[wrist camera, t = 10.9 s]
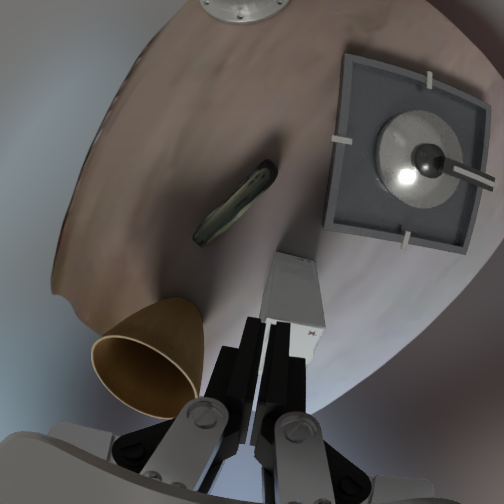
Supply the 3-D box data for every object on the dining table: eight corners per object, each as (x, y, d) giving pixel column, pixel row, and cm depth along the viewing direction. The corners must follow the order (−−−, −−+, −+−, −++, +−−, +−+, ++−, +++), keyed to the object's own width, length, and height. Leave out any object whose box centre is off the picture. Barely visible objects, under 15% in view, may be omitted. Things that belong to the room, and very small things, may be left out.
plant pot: (224, 356, 47) (199, 430, 32) (146, 339, 48) (105, 400, 34) (228, 282, 41) (194, 356, 26) (137, 267, 43) (78, 322, 28)
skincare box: (275, 249, 38) (263, 311, 25) (318, 260, 38) (328, 326, 24) (261, 301, 42) (245, 373, 28) (301, 310, 41) (300, 385, 28)
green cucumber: (262, 156, 30) (178, 247, 35) (282, 175, 30) (196, 263, 35) (265, 155, 34) (191, 235, 39) (283, 171, 35) (206, 249, 40)
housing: (336, 53, 27) (339, 46, 25) (484, 104, 25) (496, 103, 22) (315, 228, 36) (317, 235, 34) (459, 253, 34) (468, 261, 31)
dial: (367, 193, 32) (379, 202, 27) (382, 99, 27) (397, 93, 22) (463, 219, 31) (483, 231, 26) (478, 137, 26) (501, 139, 21)
